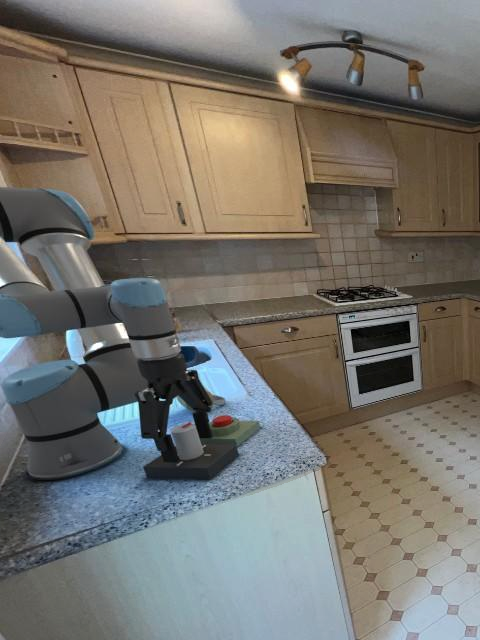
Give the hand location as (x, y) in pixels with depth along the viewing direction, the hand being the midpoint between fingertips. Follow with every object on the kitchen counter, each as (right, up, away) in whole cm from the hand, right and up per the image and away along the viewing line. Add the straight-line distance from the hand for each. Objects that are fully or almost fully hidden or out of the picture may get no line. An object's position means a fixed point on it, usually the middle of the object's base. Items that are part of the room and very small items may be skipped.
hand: (189, 448), depth 92 cm
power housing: (-2, +1, +15) cm, 15 cm away
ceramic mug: (-20, +7, +31) cm, 37 cm away
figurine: (-97, +41, +110) cm, 152 cm away
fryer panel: (0, -4, +2) cm, 5 cm away
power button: (-2, +4, +13) cm, 14 cm away
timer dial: (0, -2, +1) cm, 2 cm away
